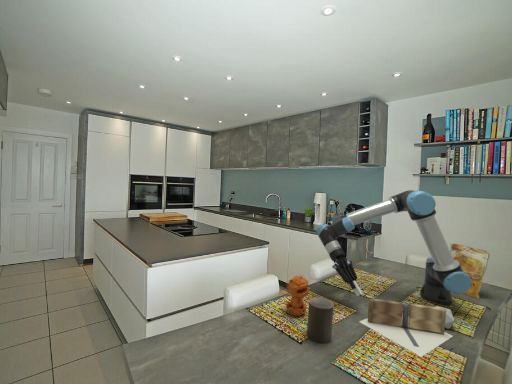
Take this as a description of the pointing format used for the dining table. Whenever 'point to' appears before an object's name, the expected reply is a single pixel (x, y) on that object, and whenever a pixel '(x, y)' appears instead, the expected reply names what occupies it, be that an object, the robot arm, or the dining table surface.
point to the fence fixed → (424, 318)
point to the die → (448, 318)
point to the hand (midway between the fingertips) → (359, 294)
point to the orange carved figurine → (297, 295)
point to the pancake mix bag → (471, 265)
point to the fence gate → (385, 312)
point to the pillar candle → (320, 320)
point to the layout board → (410, 337)
